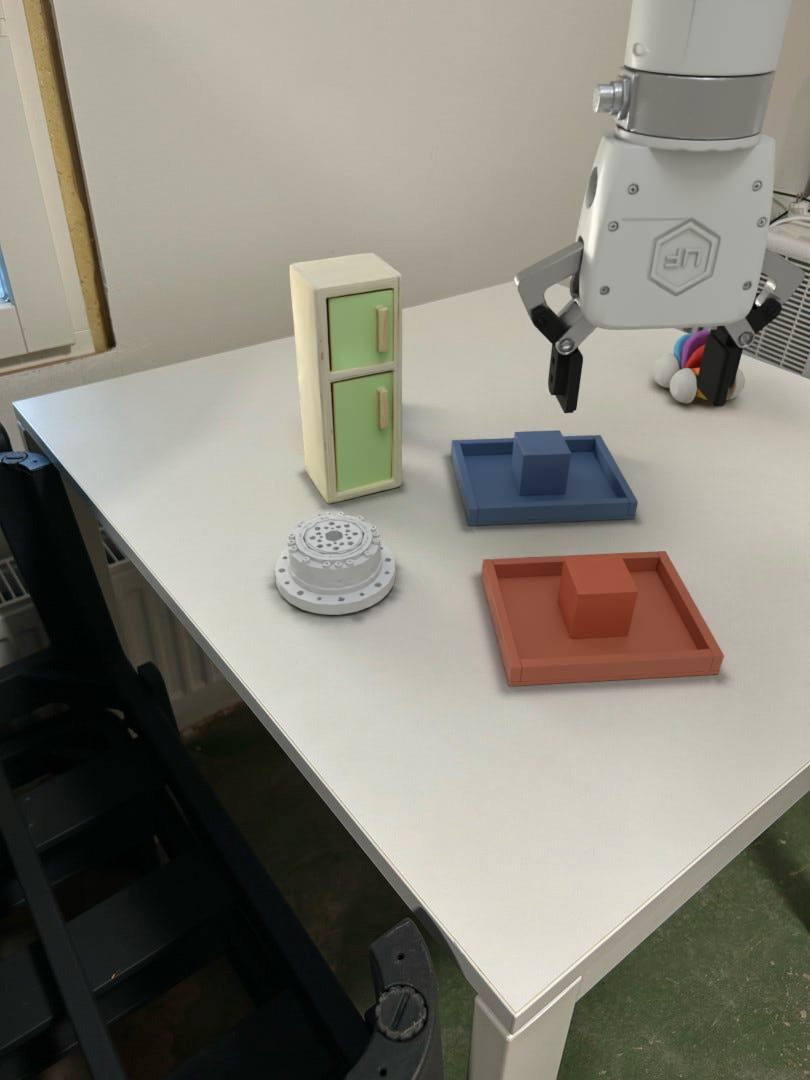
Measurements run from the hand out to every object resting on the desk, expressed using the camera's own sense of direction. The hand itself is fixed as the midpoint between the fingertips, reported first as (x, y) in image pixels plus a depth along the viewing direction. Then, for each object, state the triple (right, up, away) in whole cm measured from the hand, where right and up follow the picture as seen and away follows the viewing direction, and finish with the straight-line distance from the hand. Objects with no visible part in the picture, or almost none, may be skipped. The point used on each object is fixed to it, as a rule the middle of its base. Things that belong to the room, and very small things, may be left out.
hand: (637, 400), depth 54 cm
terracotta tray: (0, -16, +11) cm, 19 cm away
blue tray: (-2, -4, +27) cm, 28 cm away
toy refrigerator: (-20, -4, +28) cm, 35 cm away
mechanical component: (-21, -12, +16) cm, 29 cm away
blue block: (-2, -3, +27) cm, 27 cm away
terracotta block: (0, -15, +11) cm, 19 cm away
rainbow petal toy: (+19, +8, +44) cm, 49 cm away
